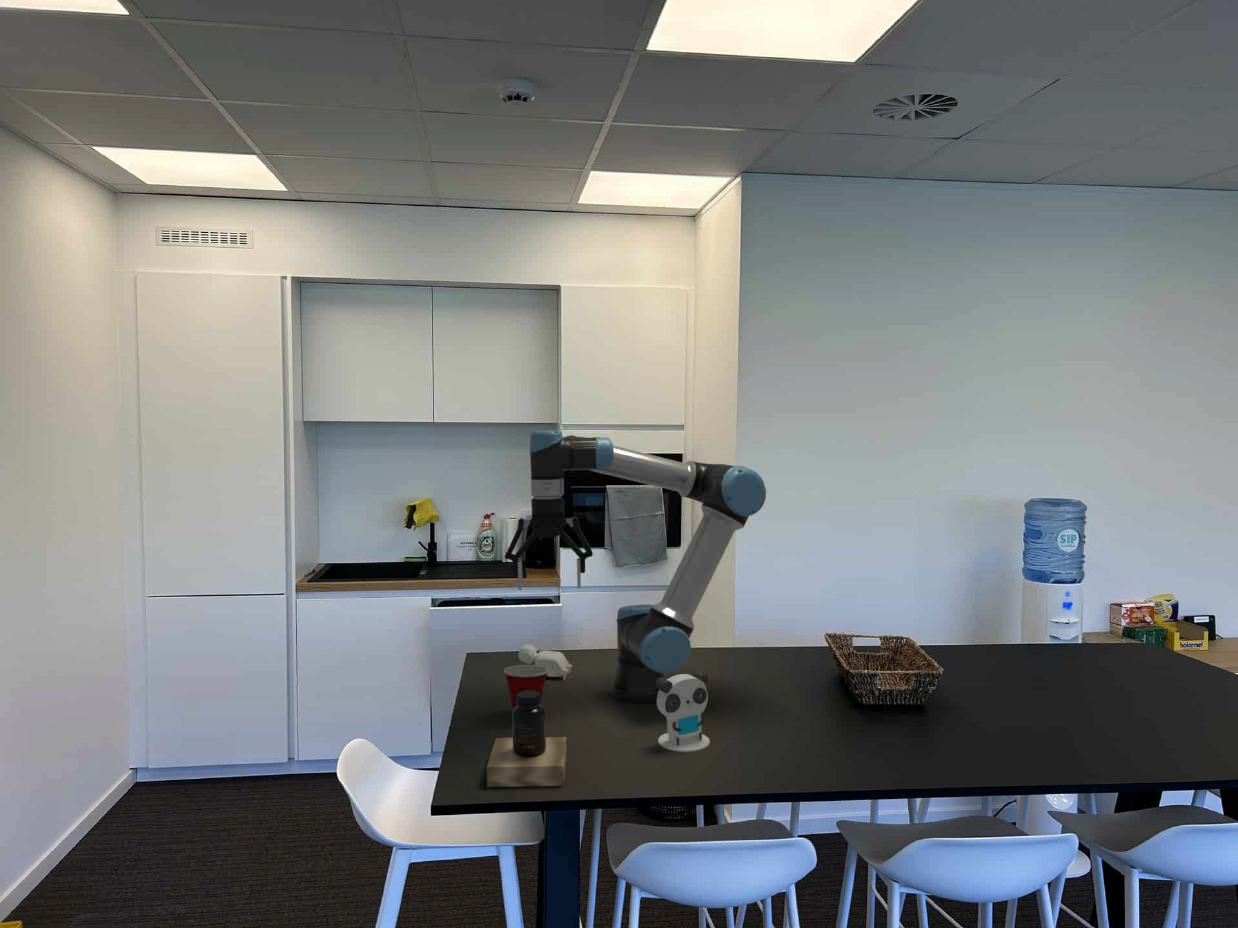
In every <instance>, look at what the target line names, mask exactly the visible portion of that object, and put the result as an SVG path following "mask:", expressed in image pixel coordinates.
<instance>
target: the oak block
mask: <svg viewBox="0 0 1238 928" xmlns="http://www.w3.org/2000/svg"><path fill="white" fill-rule="evenodd" d="M567 754H568V753H567V736H557V737H556V736H549V737H547V736H546V749H545V751H544V752H543V753H542V754H540V755H538V756H534V757H521V756H518V755H516V754H515V753H514V752H513V738H512V737H496V738H495V741H494V743H493V746H492V750H491V753H490V756H489V759H488V762H487V766H486V787H487V788H493V787H494V788H500V787H501V788H502V787H503V788H505V787H509V788H510V787H512V788H513V787H515V788H516V787H560V786H561V787H563V786H564V784H565V775H566V766H567V765H566V764H567V757H568V756H567Z"/></svg>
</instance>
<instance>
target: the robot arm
mask: <svg viewBox="0 0 1238 928" xmlns="http://www.w3.org/2000/svg"><path fill="white" fill-rule="evenodd" d="M529 440H530V441H529V442H530V443H529V459H530V462H529V463H530V492H531V493H530V495H531V496H532V497H533V498H532V499H530V500H531V518H530V519H525V518H524V517H520V518H519V519H518V522H517V529H516V531H515V533H514V536H513V538H512V539H511V542H510V544H509V546H508V548H507V550H506V553H505V555H504V558H505V559H506V560H510V561H512V572H513V573H512V574H513V575H514V576H517V577H518V578H517V582H518V583H517V584H518V585H517V586H518V590H519V591H521V590H523V587H524V586H523V560H522V559H520V558H521V557H522V556H523V555H524V553H525V552H526V551H527V549H528V548H530V546H531V545H532V543H533V542H534V541H535V540H536V539H537V537H540V538H543V539H544V538H556V537H558V536H559V538H560V539H562V541H564V543H566V544H567V545H568V547H569V548H570V549H571V550H572V552H574V553H575V555H577V557H578V558H576V574H577V575H576V579H577V580H576V581H577V582H576V584H577V589H581V588H582V585H581V574H585V573H586V560H587V559H588V558H592V557H593V555H594V553H593V550H592V548H591V546H590V544H589V542H588V541H587V539H586V537H585V535H584V533H583V532H582V530H581V527H580V525H579V519H578V517H577V516H573V517H570V518H569V517H567V518H566V517H565V498H563V497H562V496H564V494H565V493H564V491H565V490H564V489H565V486H564V485H565V483H564V481H565V480H564V471H566V472H567V471H591V472H594V473H599V474H602V475H608V476H611V477H616V478H620V479H624V480H627V481H628V480H629V481H633V482H637V483H640V484H641V483H642V484H644V485H648V486H649V485H650V486H653V487H658V488H661V489H662V488H663V489H666V490H671V491H675V492H677V493H679V495H680V497H683V498H687V499H690V500H694V501H697V502H699V503H701V505H700V507H701V512H702V513H703V514H702V515H703V516H702V517H701V520H700V522H699V523H698V526H697V527H696V530H695V531H694V534H693V535H692V538H691V540H690V542H689V544H688V546H687V548H686V549H685V552H684V553H683V556H682V558H681V560H680V561H679V565H678V566H677V568H676V571H675V572H674V574H673V575H672V576H673V577H672V579H671V581H670V583H669V585H668V587H667V588H666V591H665V592H664V594H663V597H662V599H661V600H660V602H658V603H656V604H632V605H625V606H622V607H620V608H619V609H618V610H617V615H616V616H617V618H616V623H617V624H616V628H617V629H616V631H617V632H616V633H617V635H616V636H617V640H616V641H617V642H616V643H617V665H616V668H615V671H614V675H613V677H612V681H611V685H610V694H611V696H612V697H613V698H615V699H616V700H619V701H622V702H627V703H634V704H636V703H637V704H640V703H641V704H643V703H644V704H645V703H653V702H657V696H658V692H659V689H657V688H656V686H655V684H656V681H657V679H658V678H660V677H662V678H664V679H666V680H667V679H668V678H667V674H670V673H673V672H675V671H677V670H680V669H681V668H682V667H683V666H684V665H685V664H686V663H687V661H688V659H689V657H690V655H691V651H692V646H691V641H690V637H691V635H692V633H693V631H694V630H695V625H694V622H693V618H694V615H695V613H696V611H697V609H698V606H699V605H700V602H701V601H702V598H703V597H704V594H705V593H706V591H707V588H708V586H709V585H710V582H711V580H712V578H713V576H714V575H715V573H716V570H717V568H718V567H719V566H718V565H719V564H720V562H721V560H722V558H723V556H724V554H725V551H726V550H727V548H728V546H729V544H730V541H731V540H732V538H733V535H734V533H735V532H736V531H738V530H742V529H743V528H744V527H745V525H746V523H747V521H748V519H749V517H750V516H753V515H755V514H757V513H758V512H759V511H760V510H761V509H762V508H763V506H764V504H765V502H766V497H767V489H766V486H765V482H764V480H763V478H762V476H761V475H760V474H759V473H757V472H756V471H755V470H754V469H751V468H748V467H745V466H742V465H731V464H725V463H724V464H723V463H706V462H705V463H704V462H698V461H694V460H688V461H686V462H680V461H677V460H673V459H671V458H664V457H661V456H657V455H653V454H650V453H649V454H648V453H645V452H641V451H637V450H632V449H628V448H625V447H621V446H616V445H614V444H613V441H612V440H611V439H610V438H609V437H603V436H602V437H601V436H595V437H594V436H593V437H585V436H576V435H573V434H570V435H566V436H563V432H562V430H557V429H555V430H552V429H551V430H545V429H544V430H543V429H542V430H535V431H532V433H531V434H530V439H529ZM567 524H568V525H569V527H570V528H573V530H574V533H575V534H576V536H577V538H578V540H579V542H580V543H581V545H582V547H583V549H584V551H583V550H582V549H581V548H580V547H579V546H578V545H577V544H576V543H575V541H574V540H572V538H571V537H570V536H569V535H568V534H567V533H566V531H565V530H564V528H565V526H566V525H567ZM529 525H530V527H531V528H532V529H533V531H532V533H531V535H529V537H528V538H527V539H526V541H524V543H523V544H522V545H521V547H520V548H519V549H518V550H517V551H516V552H515V553H513V552H514V549H516V545H517V543H518V542H519V539H520V537H521V535H522V532H523V530H524V529H526V528H527V527H528V526H529Z"/></svg>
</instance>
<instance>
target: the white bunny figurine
mask: <svg viewBox="0 0 1238 928" xmlns="http://www.w3.org/2000/svg"><path fill="white" fill-rule="evenodd" d="M537 650H538V649H537V648H536V647H535V646H534V645H532V644H529V643H528V644H526V643H525V644H524V645H522V646H521V647H520V648H519V651H518V654H517V655H518V659H519V660H520V661H521V662H523V663H526V665H532V663H534V665H537V666H543V667H546V668H548V670H549V671H548V673H547V675H546V677H550V678H551V677H552V678H554V677H555V678H563V681H566V678H567V676H568V674H570V672H571V669H572V667H573V665H572V664H570V662H569V661H568V660H567V658H566V656H565V654H564V653H562V652H560V651H552V650H542V651H541V650H540V651H539V652H538V653H537Z"/></svg>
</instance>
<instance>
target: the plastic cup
mask: <svg viewBox="0 0 1238 928" xmlns="http://www.w3.org/2000/svg"><path fill="white" fill-rule="evenodd" d="M548 671H549V670H548V668H546V667H543V666H537V665H535V664H520V665H519V664H518V665H517V664H516V665H511V666H508V667H505V668H503V673H504V674H505V678H506V682H507V686H508V692H509V699H510V705H511V706H512V707H511V708H512V710H513V709H514V708H515V707H516V706H517V704H516V695H517V694H518V693H519V692H523V691H536V692H539V694H540V705H542V700H543V693H544V687H545V682H546V677H547V673H548Z"/></svg>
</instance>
